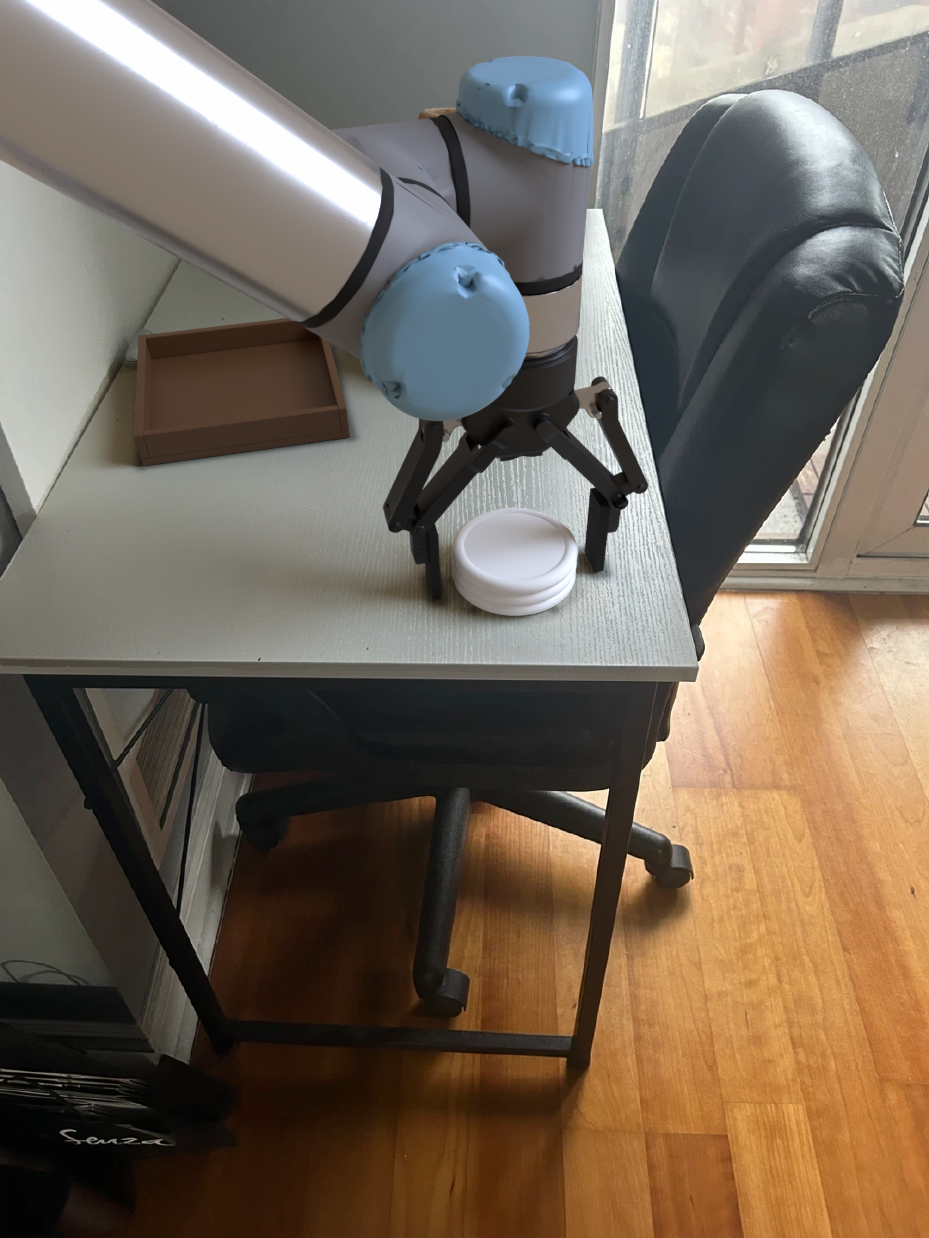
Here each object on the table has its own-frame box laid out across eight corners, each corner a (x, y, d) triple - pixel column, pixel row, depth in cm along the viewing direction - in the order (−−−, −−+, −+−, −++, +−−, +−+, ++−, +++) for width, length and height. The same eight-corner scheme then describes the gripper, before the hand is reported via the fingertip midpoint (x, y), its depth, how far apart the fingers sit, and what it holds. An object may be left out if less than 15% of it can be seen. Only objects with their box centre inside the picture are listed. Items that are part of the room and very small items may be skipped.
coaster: (438, 608, 74) (437, 575, 72) (468, 530, 81) (467, 497, 78) (564, 628, 72) (567, 595, 70) (583, 546, 79) (586, 513, 77)
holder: (143, 466, 88) (133, 436, 86) (145, 363, 102) (138, 335, 100) (350, 437, 91) (346, 408, 89) (325, 341, 105) (322, 313, 103)
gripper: (677, 285, 66) (643, 522, 81) (325, 329, 62) (356, 569, 77) (722, 335, 61) (676, 579, 76) (339, 387, 57) (370, 632, 72)
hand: (514, 574), depth 77 cm, fingers open, 13 cm apart
